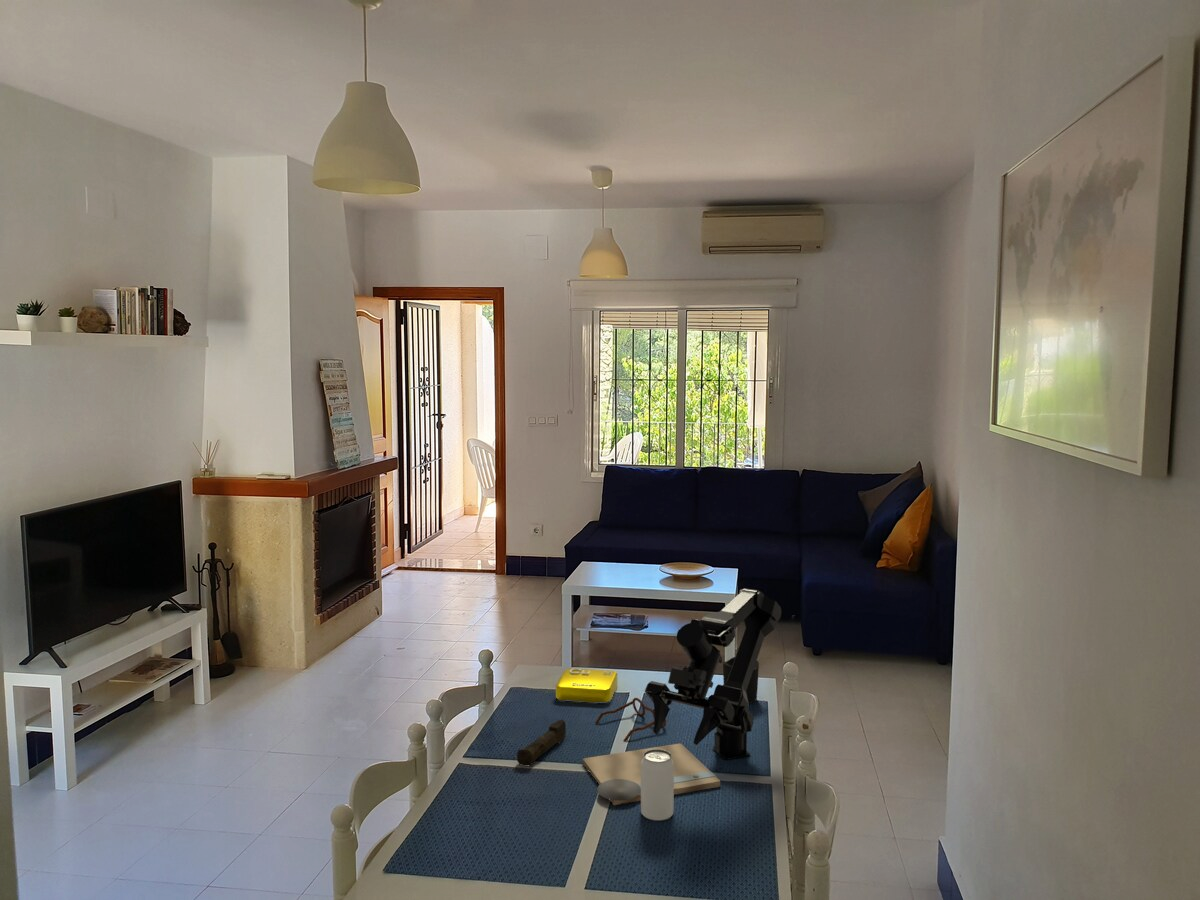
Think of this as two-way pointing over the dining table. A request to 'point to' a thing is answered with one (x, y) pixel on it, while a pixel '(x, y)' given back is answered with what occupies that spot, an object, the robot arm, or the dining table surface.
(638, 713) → the glasses
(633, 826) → the dining table surface
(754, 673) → the pen holder
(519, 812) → the dining table surface
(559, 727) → the hand tool
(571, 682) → the element tile
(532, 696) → the dining table surface
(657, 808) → the can
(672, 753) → the subfloor panel
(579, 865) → the dining table surface
